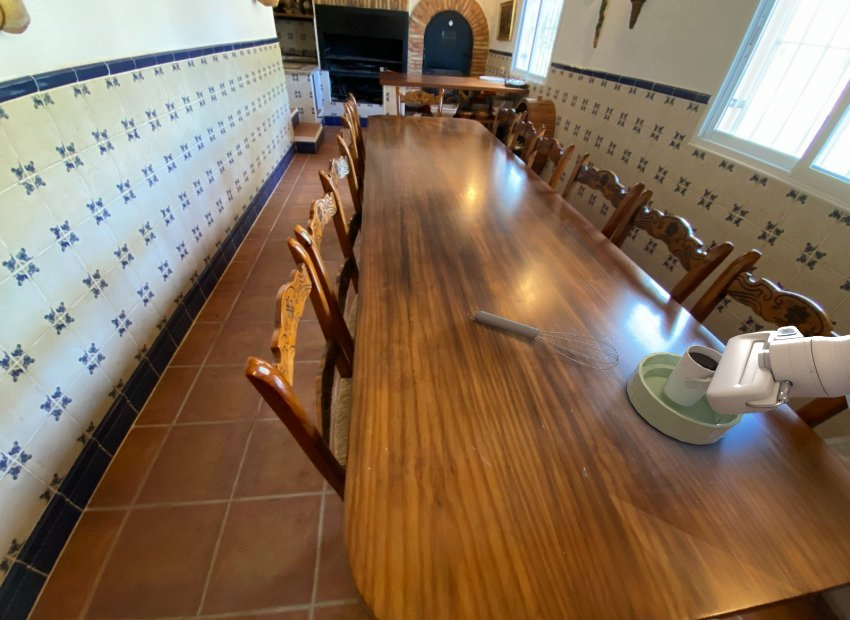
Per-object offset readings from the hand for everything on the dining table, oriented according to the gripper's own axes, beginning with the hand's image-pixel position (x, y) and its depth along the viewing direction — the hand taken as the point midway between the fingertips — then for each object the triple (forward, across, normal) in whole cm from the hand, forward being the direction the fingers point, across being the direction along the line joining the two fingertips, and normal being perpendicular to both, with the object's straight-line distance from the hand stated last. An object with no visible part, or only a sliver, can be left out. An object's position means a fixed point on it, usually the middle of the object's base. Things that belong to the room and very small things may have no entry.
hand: (690, 373), depth 66 cm
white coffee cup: (+4, 0, -4) cm, 6 cm away
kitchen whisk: (+25, -6, +13) cm, 29 cm away
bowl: (+5, -1, -6) cm, 8 cm away
